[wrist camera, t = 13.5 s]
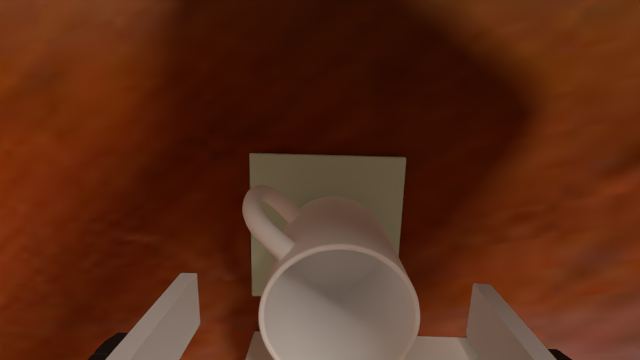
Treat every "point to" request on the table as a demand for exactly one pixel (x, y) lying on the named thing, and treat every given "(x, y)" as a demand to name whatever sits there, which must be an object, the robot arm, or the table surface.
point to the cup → (331, 282)
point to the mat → (327, 192)
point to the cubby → (425, 356)
